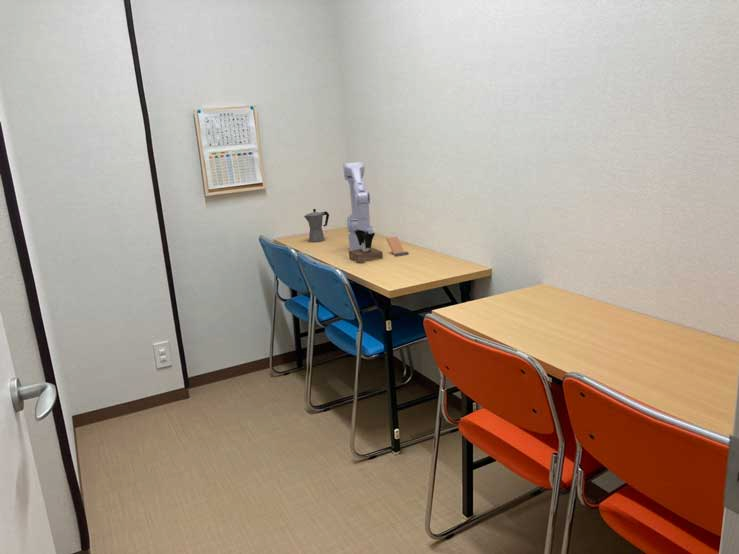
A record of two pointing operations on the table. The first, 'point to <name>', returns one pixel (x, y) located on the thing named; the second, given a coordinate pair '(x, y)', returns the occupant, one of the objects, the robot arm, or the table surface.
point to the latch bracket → (401, 254)
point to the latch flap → (395, 245)
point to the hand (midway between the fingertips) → (365, 246)
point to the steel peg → (364, 248)
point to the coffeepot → (316, 225)
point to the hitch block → (365, 255)
